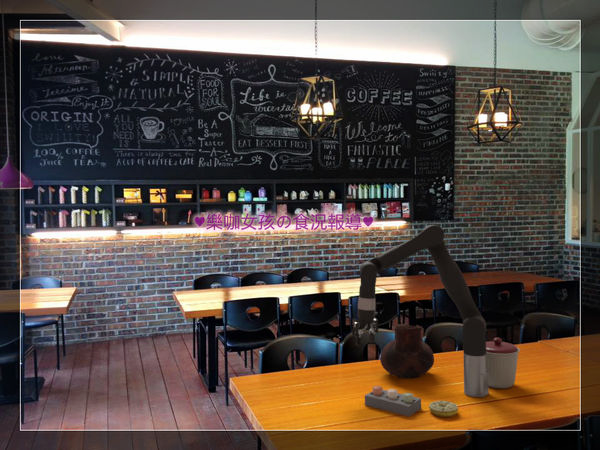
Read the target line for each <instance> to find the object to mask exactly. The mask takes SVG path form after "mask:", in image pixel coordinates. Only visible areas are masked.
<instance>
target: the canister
mask: <svg viewBox="0 0 600 450" xmlns="http://www.w3.org/2000/svg"><path fill="white" fill-rule="evenodd" d="M502 340H503V339H502V338H500V337H494V338H493V341H491V340H490V341H486V365H487V371H488V377H489V388H494V389H509V388H510V389H511V388H512V387H513V386H514V384H515V383H516V376H517V369H518V358H519V353H520V351H521V350H520V348H519V347H518V346H516V345H515V344H513V343H510V342H505V341H502Z"/></svg>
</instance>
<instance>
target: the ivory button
mask: <svg viewBox="0 0 600 450" xmlns="http://www.w3.org/2000/svg"><path fill="white" fill-rule="evenodd" d="M398 393H399V392H398V390H397V389H394V388H390V389H388V390H387V395H388V398H389V399H393V400H395V399H397V398H398Z"/></svg>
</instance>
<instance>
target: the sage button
mask: <svg viewBox="0 0 600 450" xmlns="http://www.w3.org/2000/svg"><path fill="white" fill-rule="evenodd" d="M402 394H403V402H405V403H410V404H411V403H413V397H414V393H411V392H405V393H402Z"/></svg>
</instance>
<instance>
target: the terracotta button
mask: <svg viewBox="0 0 600 450" xmlns="http://www.w3.org/2000/svg"><path fill="white" fill-rule="evenodd" d="M382 389H383V387H382V386H380V385H374V386H372V391H373V395H377V396H381V395H382Z"/></svg>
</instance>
